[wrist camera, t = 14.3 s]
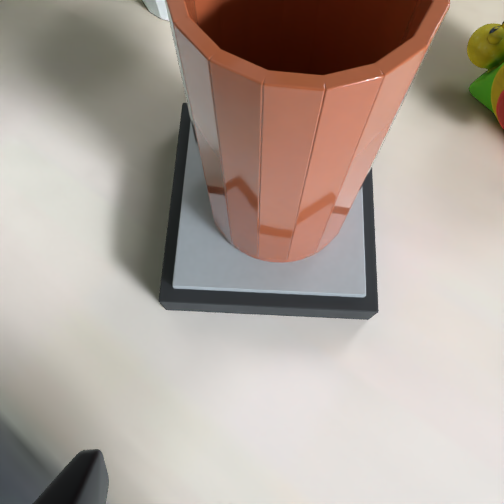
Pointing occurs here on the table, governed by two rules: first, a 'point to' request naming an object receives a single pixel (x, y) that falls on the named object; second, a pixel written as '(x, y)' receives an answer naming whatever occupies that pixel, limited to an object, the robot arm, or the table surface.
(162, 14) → the white cylinder
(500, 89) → the toy measuring tape
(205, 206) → the scale
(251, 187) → the cup
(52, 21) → the table surface
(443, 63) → the table surface
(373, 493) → the table surface
